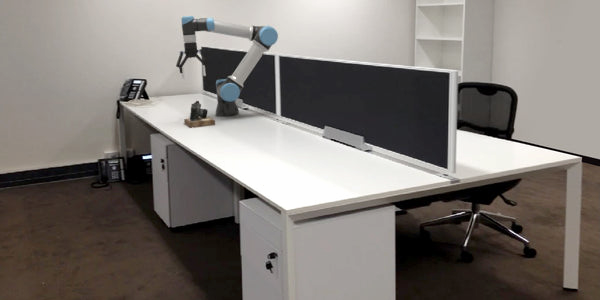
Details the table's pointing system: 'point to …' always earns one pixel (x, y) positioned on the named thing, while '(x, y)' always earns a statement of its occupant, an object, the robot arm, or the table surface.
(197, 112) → the camera
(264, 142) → the table surface
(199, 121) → the plinth
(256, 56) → the robot arm
